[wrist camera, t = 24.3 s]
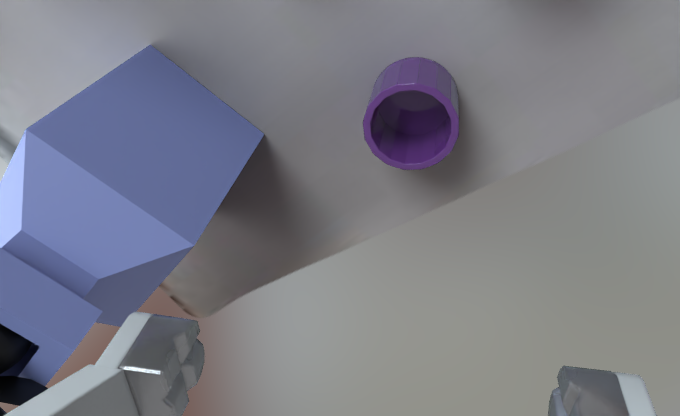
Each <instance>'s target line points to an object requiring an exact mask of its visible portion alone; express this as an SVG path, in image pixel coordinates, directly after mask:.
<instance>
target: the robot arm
mask: <svg viewBox="0 0 680 416" xmlns="http://www.w3.org/2000/svg"><path fill="white" fill-rule="evenodd" d="M199 332H200V329H199V325H198V322H197V321H195V320H190V319H183V318H177V317H171V316H164V315H157V314H149V313H142V312H133V313H132V314H130V315H129V316H128V317H127V319H126V320H125V322H124V323H123V324H122V326H121V327H120V329H119V331H118V332H117V333H116V335H115V336H114V338H113V339H112V341H111V342H110V344H109V345H108V347H107V348H106V350H105V351H104V352H103V354H102V355H101V357H100V358H99V360H98V361H97V363H96V364H95V365H87V366H86V367H84V368H82V369H81V370H79V371H77V372H76V373H74V374H72V375H71V376H69V377H67V378H66V379H64V380H62V381H61V382H59V383H57V384H56V385H54V386H52V387H51V388H49V389H47V390H46V391H44V392H42V393H40V394H39V395H37V396H35V397H34V398H32V399H30V400H29V401H27V402H25V403H24V404H22V405H20V406H19V407H17V408H15V409H14V410H12V411H10V412H9V413H7V414H5V415H4V416H182V414H183V412H184V410H185V408H186V406H187V404H188V402H189V398H188V394H187V391H188V390H189V389H191V388H192V387H194V386H195V385H196V384H197V382H198V380H199V378H200V375H201V373H202V369H203V364H204V347H203V344H202V343H201V342H200V341H199V340H198V339H197V336H198V334H199ZM557 378H558V384H559V387H558V388H556V389H554V390H553V391H552V394H551V397H550V401H549V411H548V416H657V415H656V412H655V410H654V407H653V404H652V402H651V399H650V396H649V393H648V391H647V388H646V385H645V383H644V380H643V379H642V378H641V376H640V375H635V374H626V373H618V372H611V371H604V370H596V369H587V368H578V367H569V366H563V367H562V368H561V369H560V371H559V374H558V377H557Z"/></svg>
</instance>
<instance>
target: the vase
mask: <svg viewBox="0 0 680 416" xmlns="http://www.w3.org/2000/svg"><path fill="white" fill-rule="evenodd" d="M263 136H264V133H262V132H261V131H260V130H258V129H257V128H256V127H255V126H253V125H252V124H251V123H249V122H248V121H247V120H246V119H244V118H243V117H242V116H241V115H239V114H238V113H237V112H235V111H234V110H233V109H232V108H230V107H229V106H228V105H227V104H225V103H224V102H223V101H221V100H220V99H219V98H218V97H216V96H215V95H214V94H213V93H211V92H210V91H209V90H207V89H206V88H205V87H204V86H202V85H201V84H200V83H198V82H197V81H196V80H195V79H193V78H192V77H191V76H190V75H188V74H187V73H186V72H184V71H183V70H182V69H181V68H179V67H178V66H177V65H176V64H174V63H173V62H172V61H170V60H169V59H168V58H167V57H165V56H164V55H163V54H162V53H160V52H159V51H158V50H156V49H155V48H154V47H153V46H151V45H149V46H148V47H146V48H145V49H143V50H142V51H140V52H139V53H137V54H136V55H134V56H133V57H131V58H130V59H128V60H127V61H125V62H124V63H123V64H121V65H120V66H118V67H117V68H115V69H114V70H112V71H111V72H109V73H108V74H106V75H105V76H103V77H102V78H100V79H99V80H98V81H96V82H95V83H93V84H92V85H90V86H89V87H87V88H86V89H84V90H83V91H81V92H80V93H78V94H77V95H75V96H74V97H73V98H71V99H70V100H68V101H67V102H65V103H64V104H62V105H61V106H59V107H58V108H56V109H55V110H53V111H52V112H50V113H49V114H48V115H46V116H45V117H43V118H42V119H40V120H39V121H37V122H36V123H34V124H33V125H31V126H30V127H28V128H27V129H26V130H25V132H24V134H23V136H22V138H21V141H20V143H19V145H18V147H17V149H16V151H15V153H14V155H13V157H12V159H11V161H10V164H9V166H8V168H7V170H6V172H5V174H4V176H3V178H2V181H1V183H0V402H3V403H8V404H13V405H19V406H20V405H22V404H24V403H25V402H27V401H29V400H30V399H32V398H34V397H35V396H37V395H39V394H40V393H42V392H44V391H46V390H47V389H48V388H47V387H45V385H46V384H47V383H48V382H49V381H50V379H51V378H52V377H53V376H54V374H55V373H56V372H57V371H58V369H59V368H60V367H61V366H62V365H63V363H64V362H65V361H66V360H67V359H68V357H69V356H70V355H71V354H72V352H73V351H74V350H75V349H76V347H77V346H78V345H79V343H80V342H81V340H82V339H83V338H84V336H85V335H86V334H87V332H88V331H89V330H90V328H91V327H92V325H93V324H94V323H95V322H97V323H103V324H109V325H114V326H120V327H121V326H122V324H123V323H124V322H125V320H126V319H127V317H128V316H129V315H130V314H132V313H133V312H136V311H137V310H138V309H139V308H140V307H141V305H142V304H143V303H144V302H145V301H146V300H147V299H148V297H149V296H150V295H151V294H152V293H153V291H155V290H156V288H157V287H158V286H159V285H160V284H161V283H162V282H163V280H164V279H165V278H166V277H167V276H168V275H169V274H170V273H171V271H172V270H173V269H174V268H175V267H176V266H177V265H178V263H179V262H180V261H181V260H182V259H183V258H184V257H185V255H186V254H187V253H188V252H189V251H190V250H191V249H192V248H193V246H194V245H195V244H196V242H197V240H198V239H199V237H200V236H201V234H202V232H203V231H204V229H205V228H206V226H207V225H208V223H209V221H210V220H211V218H212V217H213V215H214V213H215V212H216V210H217V209H218V207H219V206H220V204H221V202H222V201H223V199H224V198H225V196H226V194H227V193H228V191H229V190H230V188H231V186H232V185H233V183H234V182H235V180H236V179H237V177H238V175H239V174H240V172H241V171H242V169H243V167H244V166H245V164H246V163H247V161H248V160H249V158H250V156H251V155H252V153H253V152H254V150H255V148H256V147H257V145H258V144H259V142H260V140H261V139H262V137H263ZM5 414H7V413H6V412H5V411H4V410H3V409H2V408H1V407H0V416H4V415H5Z"/></svg>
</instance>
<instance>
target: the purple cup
mask: <svg viewBox="0 0 680 416" xmlns="http://www.w3.org/2000/svg"><path fill="white" fill-rule="evenodd" d="M363 129H364V137H365V140H366V142H367V144H368V145H369V147H370V149H371V151H372V152H373V153H374V155H375V156H377V157H378V158H379V159H381V160H382V161H383V162H384V163H386V164H388V165H390V166H393V167H397V168H400V169H403V170H417V169H424V168H427V167H429V166H432V165H434V164H437V163H439V162H440V161H441V160H442V159H443V158H444V157H446V156H447V155H448V154H449V153H450V152H451V151H452V149H453V147H454V145H455V143H456V140H457V138H458V136H459V110H458V91H457V87H456V84H455V82H454V80H453V78H452V76H451V75H450V73H449V72H448V71H447V70H446V69H445V68H444V67H442V66H441V65H440V64H438V63H436V62H434V61H432V60H429V59H425V58H419V57H411V58H405V59H402V60H399V61H396V62H394V63H393V64H391V65H389V66H388V67H387V68H386V69H385V70H384V71H383V72H382V73H381V74H380V75H379V77H378V78H377V80H376V82H375V84H374V88H373V91H372V94H371V97H370V100H369V103H368V107H367V110H366V113H365V116H364V120H363Z"/></svg>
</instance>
